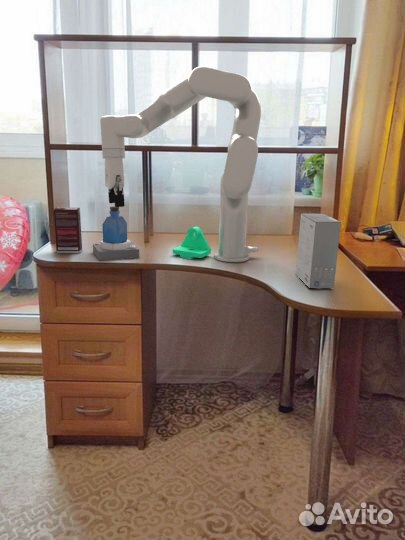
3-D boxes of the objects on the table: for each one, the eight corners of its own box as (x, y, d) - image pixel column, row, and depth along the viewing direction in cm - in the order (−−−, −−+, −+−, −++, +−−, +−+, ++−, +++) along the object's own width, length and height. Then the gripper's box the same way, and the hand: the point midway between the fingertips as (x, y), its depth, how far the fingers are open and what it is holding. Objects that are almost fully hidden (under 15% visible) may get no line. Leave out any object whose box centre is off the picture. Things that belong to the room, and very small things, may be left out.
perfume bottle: (112, 238, 174) (111, 205, 170) (127, 240, 172) (126, 206, 168) (103, 242, 168) (101, 207, 165) (118, 243, 166) (117, 209, 163)
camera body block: (131, 249, 179) (130, 236, 178) (139, 257, 169) (139, 243, 167) (93, 252, 174) (92, 238, 173) (99, 260, 163) (98, 246, 162)
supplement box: (82, 250, 176) (80, 207, 172) (80, 253, 172) (78, 209, 167) (58, 250, 176) (56, 206, 171) (55, 253, 171) (52, 208, 167)
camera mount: (171, 256, 172) (171, 228, 169) (182, 252, 179) (182, 224, 176) (200, 261, 167) (201, 232, 164) (211, 256, 173) (211, 228, 170)
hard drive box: (334, 290, 139) (342, 222, 133) (308, 290, 138) (315, 221, 133) (318, 274, 154) (324, 212, 148) (294, 274, 153) (299, 212, 148)
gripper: (97, 153, 168) (101, 202, 173) (107, 155, 153) (110, 209, 157) (119, 152, 171) (121, 201, 175) (130, 154, 155) (133, 207, 160)
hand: (116, 204), depth 166 cm, fingers open, 9 cm apart
